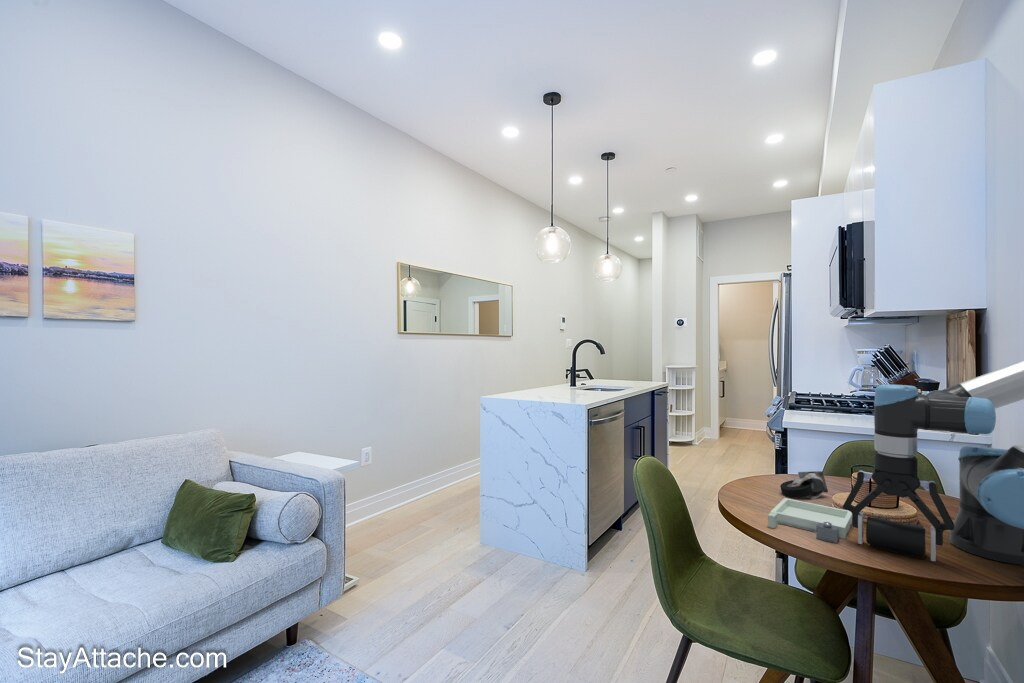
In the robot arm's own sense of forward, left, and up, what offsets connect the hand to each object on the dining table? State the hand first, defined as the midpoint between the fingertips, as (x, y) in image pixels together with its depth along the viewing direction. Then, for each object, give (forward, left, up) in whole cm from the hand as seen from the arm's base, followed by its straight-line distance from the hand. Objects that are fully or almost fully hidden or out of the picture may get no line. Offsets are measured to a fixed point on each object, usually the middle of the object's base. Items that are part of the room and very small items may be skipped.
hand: (895, 550), depth 106 cm
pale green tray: (+17, -6, 0) cm, 18 cm away
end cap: (0, 0, -1) cm, 1 cm away
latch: (+12, +2, 0) cm, 13 cm away
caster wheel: (+24, -31, -1) cm, 39 cm away
